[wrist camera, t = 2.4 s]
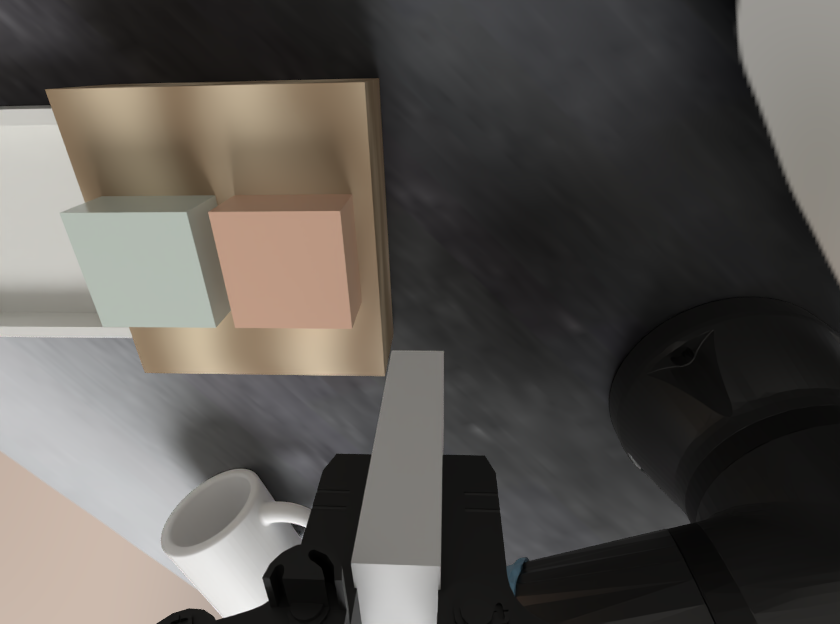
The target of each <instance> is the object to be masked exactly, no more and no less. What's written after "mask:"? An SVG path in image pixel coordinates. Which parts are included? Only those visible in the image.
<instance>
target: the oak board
mask: <svg viewBox="0 0 840 624" xmlns="http://www.w3.org/2000/svg"><path fill="white" fill-rule="evenodd" d="M45 91H46V94H47V97H48V99H49V102H50V105H51V108H52V111H53V114H54V116H55V119H56V122H57V125H58V128H59V131H60V133H61V136H62V139H63V142H64V145H65V148H66V150H67V153H68V156H69V159H70V162H71V165H72V167H73V170H74V173H75V176H76V179H77V182H78V184H79V187H80V190H81V193H82V196H83V199H84V201H85V203H86V202H88V201H91V200H93V199H96V198H98V197H101V196H191V195H215V196H216V201H217V205H220V204H221V203H223V202H224V201H226V200H228V199H229V198H231V197H232V196H234V195H305V194H352V197H353V208H354V219H355V231H356V242H357V253H358V265H359V276H360V287H361V298H362V303H361V306H360V308H359V311H358V314H357V317H356V319H355V322H354V325H353V328H352V329H307V328H235V325H234V321H233V317H232V312H231V311H230V312H229V313H228V315H227V316H226V317H225V318H224V319H223V320H222V321H221V323H220V324H219V325H218V326H217V327H216V328H179V327H129V329H130V332H131V335H132V337H133V340H134V343H135V346H136V349H137V352H138V354H139V357H140V360H141V363H142V366H143V369H144V371H145V373H195V374H269V375H342V376H385V373H386V368H387V363H388V358H389V353H390V348H391V343H392V338H393V319H392V301H391V283H390V265H389V247H388V229H387V211H386V194H385V176H384V158H383V140H382V122H381V104H380V86H379V78H365V79H321V80H278V81H234V82H191V83H147V84H109V85H96V86H83V87H70V88H56V89H45Z"/></svg>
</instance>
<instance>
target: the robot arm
mask: <svg viewBox="0 0 840 624" xmlns="http://www.w3.org/2000/svg"><path fill="white" fill-rule="evenodd" d="M609 411H610V417H611V421H612V424H613V427H614V429H615V431H616V434H617V436H618V438H619V440H620V442H621V445H622V447H623V449H624V450H625V452H626V454H627V455H628V457H629V458H630V459H631V461H632V462H633V463H634V464H635V465H636V466H637V467H638V468H639V469H640V470H641V471H642V472H643V473H645V474H646V475H647V476H648V477H649V478H651V479H652V480H653V481H654V482H655V483H656V484H657V485H658V486H659V487H660V488H661V489H662V491H663V492H664V493H665V494H666V495H667V496H668V497H669V498H670V499H671V500H672V501H673V502H674V503H675V504H676V505H677V506H678V507H680V508H681V509H682V511H683V512H684V513H685V514H686V515H687V517H688V518H689V520H690V523H691V524H687V525H683V526H678V527H674V528H670V529H663V530H659V531H654V532H650V533H646V534H642V535H637V536H633V537H629V538H625V539H620V540H616V541H612V542H608V543H603V544H599V545H595V546H591V547H586V548H582V549H578V550H574V551H570V552H565V553H561V554H557V555H553V556H548V557H544V558H540V559H536V560H531V561H529V559H528V558H527V557H525V558H519V559H518V560H517V561H516V562H515V563H514V564H513V565H509V566H506V560H505V551H504V542H503V533H502V525H501V516H500V507H499V498H498V489H497V480H496V473H495V471H494V469H493V468H492V466H491V465H490V463H489V462H488V460H487V458H486V457H485V456H474V455H443V442H444V351H392V352H391V357H390V362H389V368H388V373H387V378H386V383H385V388H384V394H383V399H382V404H381V409H380V414H379V420H378V425H377V430H376V435H375V440H374V446H373V451H372V455H369V454H336V455H335V457H334V458H333V459H332V460H331V461H330V463H329V464H328V465H327V466H326V467H325V469H324V470H323V473H322V476H321V479H320V483H319V486H318V491H317V493H316V496H315V499H314V502H313V508H312V509H311V512H310V516H309V519H308V522H307V526H306V529H305V532H304V535H303V539H302V542H301V544H299V545H296V546H293V547H291V548H289V549H287V550H285V551H283V552H282V553H281V554H280V555H279V556H277V557H276V558H275V559H274V560H273V561H272V562H271V563H270V564H269V566H268V568H267V570H266V572H265V573H264V575H263V577H262V579H263V583H264V586H265V590H266V593H267V597H268V600H269V601H267V602H266V603H264V604H263V605H261V606H259V607H256V608H254V609H252V610H249V611H246V612H242V613H239V614H236V615H232V616H229V617H226V618H222V619H219V620H215V618H214V617H213V616H212V615H211V614H209V613H208V612H206V611H205V610H201V609H186V610H182V611H179V612H176V613H173V614H171V615H169V616H168V617H166V618H165V619H163V620H161V621H160V622H158V623H157V624H840V334H838V333H837V332H836V331H835V330H834V329H832V328H831V327H829V326H828V325H827V324H825V323H824V322H822V321H821V320H819V319H818V318H817V317H815V316H814V315H812V314H811V313H809V312H808V311H806V310H804V309H802V308H800V307H798V306H796V305H794V304H791V303H788V302H784V301H780V300H776V299H770V298H761V297H741V298H731V299H725V300H720V301H715V302H711V303H707V304H704V305H701V306H698V307H695V308H692V309H690V310H687V311H685V312H683V313H681V314H679V315H677V316H675V317H673V318H671V319H669V320H668V321H666V322H664V323H663V324H661V325H660V326H658V327H657V328H655V329H654V330H653V331H652V332H650V333H649V334H648V335H647V336H645V337H644V338H643V339H642V340H641V341H640V342H639V343H638V344H637V345H636V346H635V347H634V348H633V349H632V350H631V352H630V353H629V354H628V355H627V357H626V358H625V360H624V361H623V363H622V364H621V366H620V368H619V369H618V371H617V373H616V376H615V378H614V381H613V384H612V387H611V391H610V397H609Z"/></svg>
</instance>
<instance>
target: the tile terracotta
mask: <svg viewBox="0 0 840 624" xmlns="http://www.w3.org/2000/svg"><path fill="white" fill-rule="evenodd" d="M208 214H209V218H210V222H211V227H212V231H213V235H214V240H215V244H216V248H217V252H218V257H219V261H220V265H221V270H222V274H223V278H224V282H225V287H226V291H227V295H228V300H229V304H230V308H231V312H232V317H233V321H234V325H235V328H307V329H352V328H353V325H354V322H355V319H356V317H357V314H358V311H359V308H360V306H361V303H362V298H361V287H360V276H359V265H358V253H357V242H356V231H355V219H354V208H353V197H352V194H305V195H234V196H232V197H231V198H229V199H228V200H226V201H224V202H223V203H221V204H220V205H218V206H217V207H215V208H213V209H212V210H210V211H209V212H208Z"/></svg>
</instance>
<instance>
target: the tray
mask: <svg viewBox="0 0 840 624" xmlns="http://www.w3.org/2000/svg"><path fill="white" fill-rule="evenodd" d="M83 203H85V201H84V199H83V196H82V193H81V190H80V187H79V184H78V182H77V179H76V176H75V173H74V170H73V167H72V165H71V162H70V159H69V156H68V153H67V150H66V148H65V145H64V142H63V139H62V136H61V133H60V131H59V128H58V125H57V122H56V119H55V116H54V114H53V111H52V108H51V105H35V106H0V337H79V338H133V337H132V335H131V332H130V329H129V327H103V326H102V323H101V321H100V318H99V316H98V313H97V310H96V308H95V305H94V302H93V300H92V297H91V295H90V292H89V289H88V287H87V284H86V281H85V279H84V276H83V274H82V271H81V268H80V266H79V263H78V261H77V258H76V255H75V253H74V250H73V247H72V245H71V242H70V240H69V237H68V234H67V232H66V229H65V227H64V224H63V221H62V219H61V216H60V212H63V211H65V210H68V209H70V208H73V207H76V206H78V205H81V204H83Z"/></svg>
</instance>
